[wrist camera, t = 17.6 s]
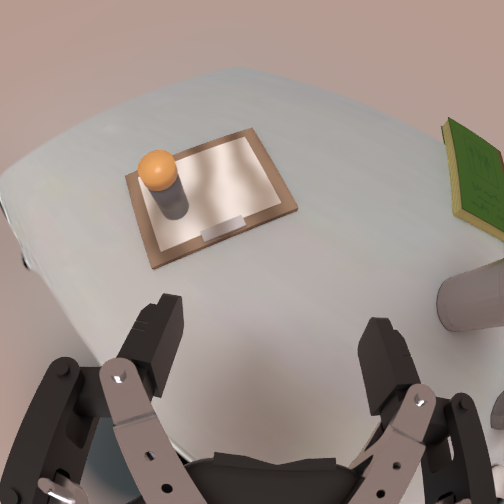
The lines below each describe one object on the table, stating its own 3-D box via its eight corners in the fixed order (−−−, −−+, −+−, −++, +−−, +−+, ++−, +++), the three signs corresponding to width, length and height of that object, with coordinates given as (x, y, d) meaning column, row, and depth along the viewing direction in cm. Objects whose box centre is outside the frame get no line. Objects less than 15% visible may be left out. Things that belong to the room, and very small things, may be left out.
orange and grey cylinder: (184, 189, 39) (169, 144, 29) (193, 214, 38) (179, 173, 28) (157, 200, 39) (134, 158, 28) (165, 225, 38) (142, 188, 27)
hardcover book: (505, 244, 41) (516, 239, 38) (450, 216, 42) (462, 208, 39) (491, 156, 48) (499, 149, 45) (440, 124, 49) (447, 114, 45)
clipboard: (252, 131, 44) (252, 124, 42) (297, 210, 40) (299, 205, 39) (127, 179, 41) (123, 173, 39) (153, 269, 37) (149, 266, 36)
